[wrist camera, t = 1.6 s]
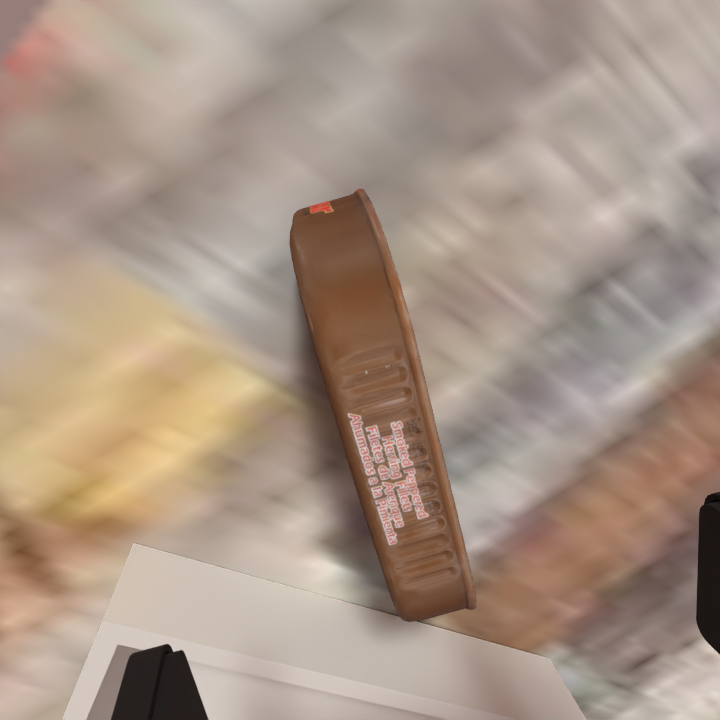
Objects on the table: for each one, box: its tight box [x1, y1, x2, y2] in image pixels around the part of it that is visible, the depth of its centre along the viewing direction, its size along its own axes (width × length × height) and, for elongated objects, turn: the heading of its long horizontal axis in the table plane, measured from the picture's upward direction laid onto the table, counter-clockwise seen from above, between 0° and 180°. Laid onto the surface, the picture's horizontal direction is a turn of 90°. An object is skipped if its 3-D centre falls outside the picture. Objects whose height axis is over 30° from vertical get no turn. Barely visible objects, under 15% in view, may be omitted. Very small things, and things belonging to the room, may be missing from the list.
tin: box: [290, 189, 476, 622], centre depth 19 cm, size 15×3×8 cm, turn 15°
